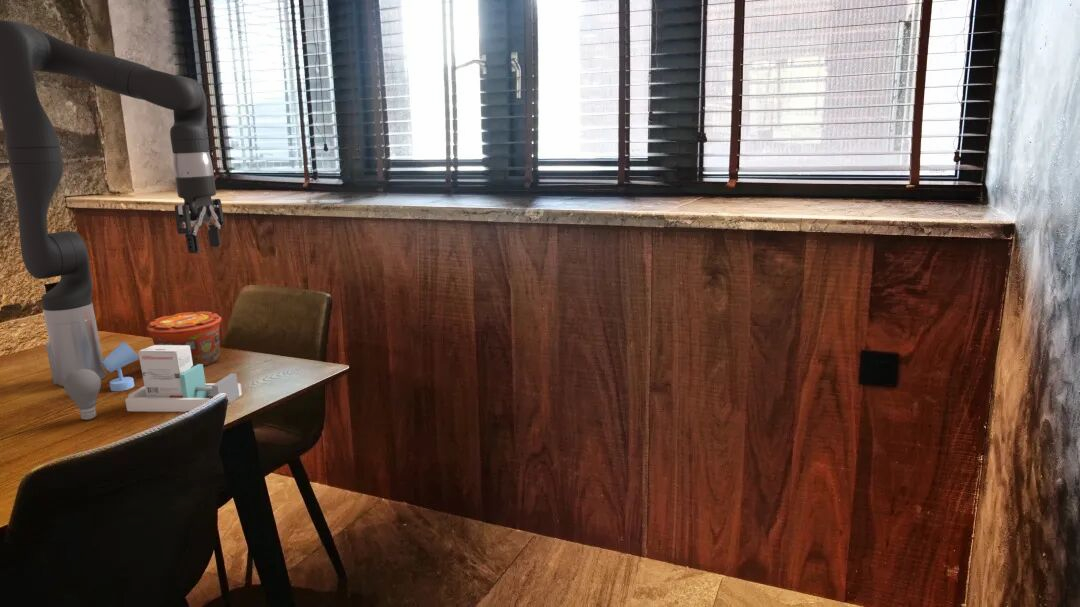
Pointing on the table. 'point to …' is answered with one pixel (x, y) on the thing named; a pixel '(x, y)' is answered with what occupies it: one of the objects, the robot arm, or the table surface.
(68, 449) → the table surface
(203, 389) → the pusher
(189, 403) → the light grey piece
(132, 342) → the table surface
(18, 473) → the table surface
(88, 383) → the light bulb
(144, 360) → the ink box
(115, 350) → the spotlight
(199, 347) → the food container
